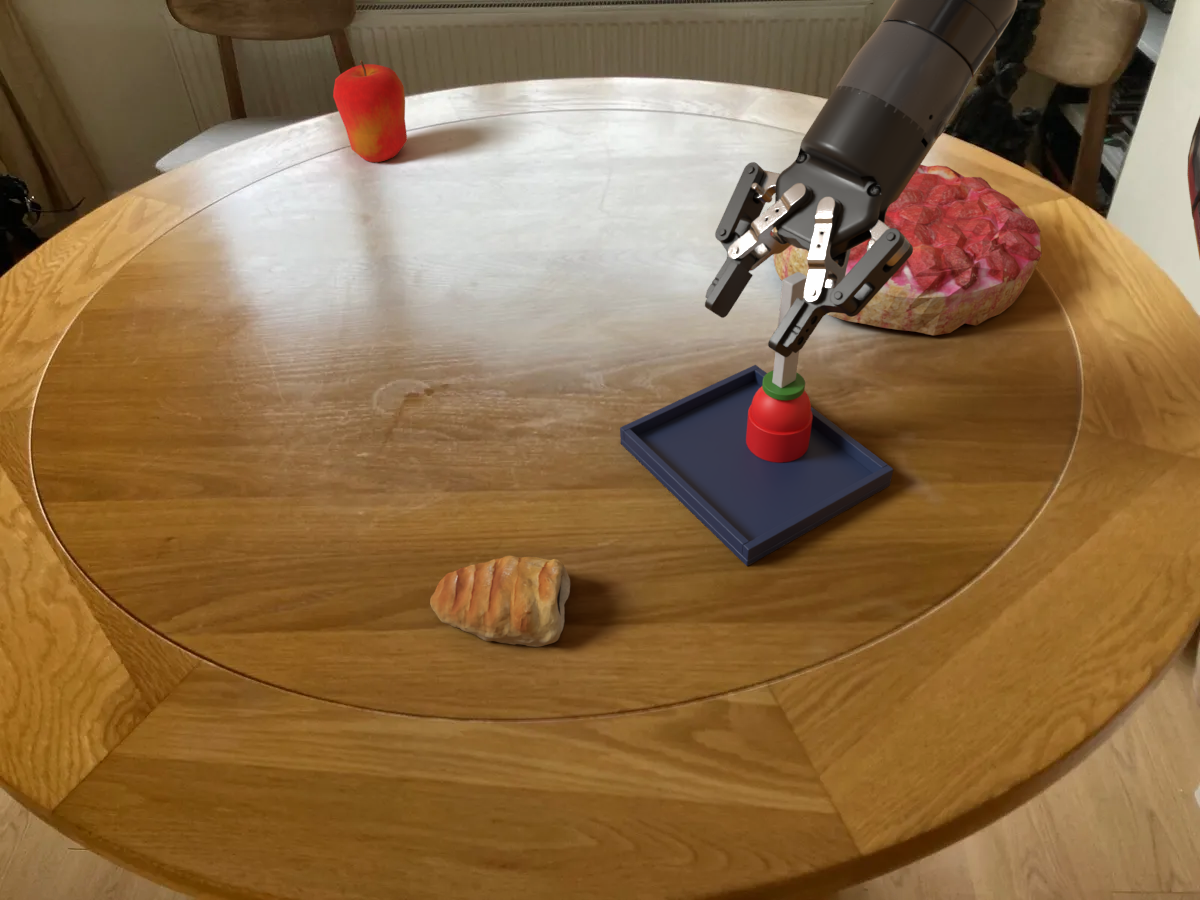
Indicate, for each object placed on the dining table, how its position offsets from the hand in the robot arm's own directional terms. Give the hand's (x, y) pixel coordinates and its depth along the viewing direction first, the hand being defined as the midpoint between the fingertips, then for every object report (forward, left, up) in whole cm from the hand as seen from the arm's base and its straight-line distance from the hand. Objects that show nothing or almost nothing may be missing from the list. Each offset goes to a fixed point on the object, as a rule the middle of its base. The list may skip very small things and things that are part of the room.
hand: (745, 331), depth 66 cm
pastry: (-2, +21, -14) cm, 25 cm away
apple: (+71, -1, -14) cm, 72 cm away
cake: (+14, -32, -14) cm, 37 cm away
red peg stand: (0, -5, -13) cm, 14 cm away
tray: (0, -2, -14) cm, 14 cm away
